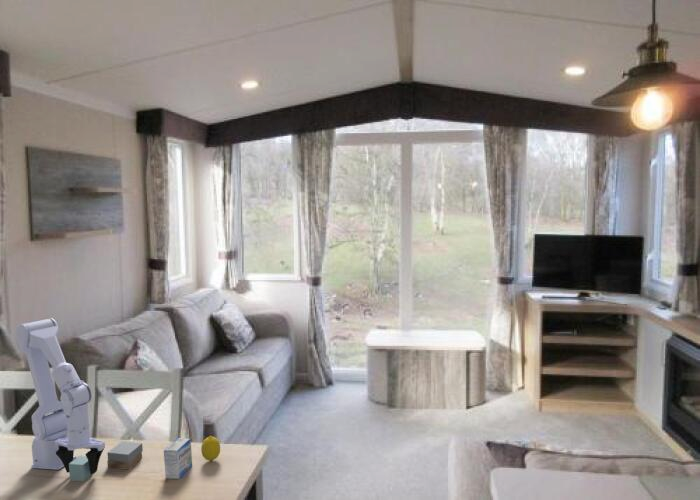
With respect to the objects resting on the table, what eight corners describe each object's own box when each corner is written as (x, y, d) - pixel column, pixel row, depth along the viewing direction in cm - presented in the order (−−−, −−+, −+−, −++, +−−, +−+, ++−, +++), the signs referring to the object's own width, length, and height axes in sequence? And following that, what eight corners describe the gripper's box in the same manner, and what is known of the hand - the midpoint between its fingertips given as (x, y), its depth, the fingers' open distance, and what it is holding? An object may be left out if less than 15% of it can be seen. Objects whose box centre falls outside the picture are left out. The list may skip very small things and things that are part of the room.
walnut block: (107, 469, 158) (107, 461, 157) (121, 457, 165) (120, 449, 164) (129, 470, 157) (128, 462, 156) (142, 458, 163) (141, 451, 163)
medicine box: (179, 479, 150) (177, 451, 149) (164, 478, 151) (163, 449, 150) (192, 465, 158) (191, 438, 157) (179, 464, 159) (177, 437, 158)
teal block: (70, 480, 151) (68, 463, 151) (80, 472, 156) (79, 456, 155) (84, 481, 150) (83, 464, 150) (94, 473, 155) (93, 457, 154)
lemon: (198, 464, 159) (196, 438, 158) (209, 455, 164) (208, 430, 163) (213, 467, 157) (212, 441, 156) (224, 458, 162) (223, 433, 161)
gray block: (108, 460, 158) (107, 452, 157) (122, 449, 165) (121, 441, 164) (128, 462, 156) (128, 454, 156) (142, 450, 163) (142, 443, 163)
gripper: (45, 431, 148) (49, 477, 150) (92, 434, 146) (96, 480, 148) (62, 421, 155) (66, 464, 157) (107, 423, 153) (111, 467, 155)
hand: (81, 471), depth 153 cm, fingers open, 7 cm apart
